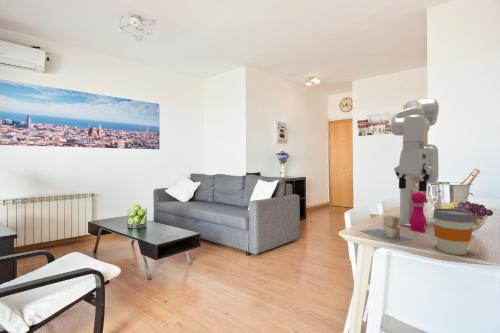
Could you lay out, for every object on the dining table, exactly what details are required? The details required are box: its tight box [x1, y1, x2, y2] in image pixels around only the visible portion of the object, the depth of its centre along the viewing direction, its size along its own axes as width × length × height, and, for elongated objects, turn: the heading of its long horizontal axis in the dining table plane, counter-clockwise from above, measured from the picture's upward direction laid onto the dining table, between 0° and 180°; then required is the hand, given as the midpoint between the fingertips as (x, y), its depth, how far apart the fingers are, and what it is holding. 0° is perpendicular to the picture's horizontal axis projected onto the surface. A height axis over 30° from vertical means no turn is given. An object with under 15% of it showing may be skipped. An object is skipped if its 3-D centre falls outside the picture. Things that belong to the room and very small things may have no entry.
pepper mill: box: [409, 189, 427, 234], centre depth 136 cm, size 7×7×20 cm
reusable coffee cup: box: [432, 208, 475, 256], centre depth 108 cm, size 13×13×15 cm
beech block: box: [382, 214, 401, 239], centre depth 124 cm, size 4×4×9 cm
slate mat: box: [359, 228, 414, 244], centre depth 127 cm, size 12×19×1 cm, turn 21°
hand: (411, 189), depth 114 cm, fingers open, 8 cm apart
